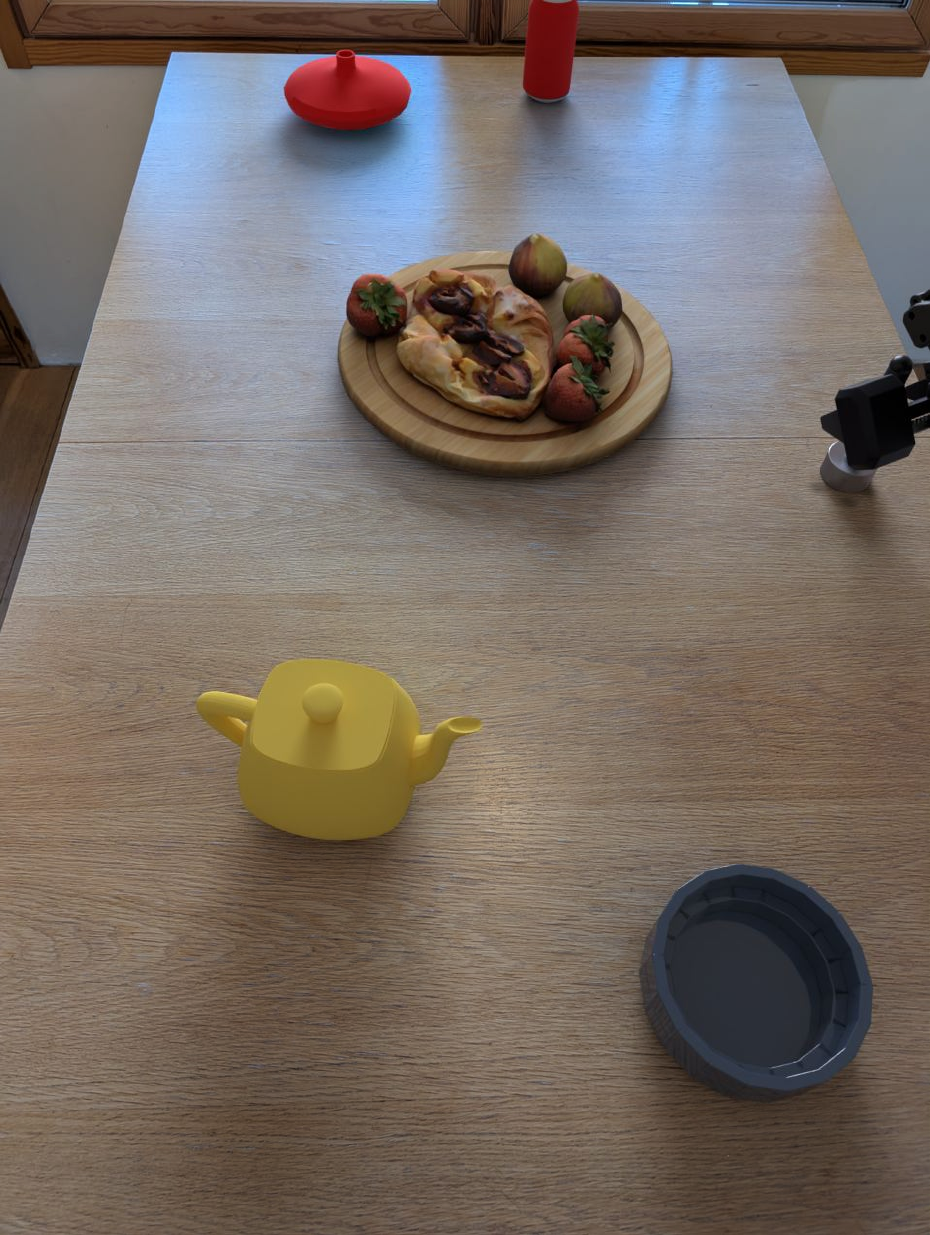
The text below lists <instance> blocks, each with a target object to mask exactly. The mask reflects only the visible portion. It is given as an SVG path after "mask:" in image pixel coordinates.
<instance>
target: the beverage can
mask: <svg viewBox="0 0 930 1235" xmlns="http://www.w3.org/2000/svg"><path fill="white" fill-rule="evenodd" d="M527 13H528V14H527V24H526V35H525V36H526V37H525V50H524V61H523V74H522V88H523V91H524V92H525V94H526V95H527V96H529V97H530V98H531V99H533V100H535V101H537V102H540V103H544V104H548V103H549V104H552V103H556V102H558V101H560V100H563V99H565V98H566V97H567V96H568V95H569V93H570V90H571V84H572V75H573V66H574V59H575V52H576V51H575V50H576V43H577V42H576V41H577V34H578V26H579V16H580V4H579V1H578V0H530V2H529V3H528V12H527Z"/></svg>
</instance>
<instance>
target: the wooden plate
mask: <svg viewBox="0 0 930 1235" xmlns="http://www.w3.org/2000/svg"><path fill="white" fill-rule="evenodd" d="M345 305H346V307H345V314H346V319H345V321H344V322H343V325H342V328H341V330H340V334H339V338H338V343H337V365H338V371H339V376H340V379H341V383H342V385H343V388H344V391H345V393H346V395H347V397H348V399H349V400H350V402H351V403H352V405H353V406H354V408H355V409H356V411H357V412H358V413H359V414H360V415H361V416H362V417H363V419H364V420H365V421H367V423H369V424H370V425H371V426H372V428H374V429H375V430H376V431H377V432H378V433H380V435H382V436H384V437H385V438H386V439H388V440H389V441H391V442H392V443H394V444H395V445H396V446H398V447H400V448H402V449H403V450H405V451H407V452H408V453H410V454H413V455H416V456H418V457H420V458H422V459H424V460H427V461H430V462H432V463H436V464H438V465H440V466H445V467H447V468H453V469H456V470H461V471H466V472H469V473H475V474H476V473H478V474H483V475H490V476H504V477H505V476H506V477H524V476H541V475H549V474H555V473H560V472H565V471H569V470H570V471H571V470H574V469H578V468H582V467H585V466H587V465H588V466H589V465H590V464H593V463H596V462H598V461H601V460H603V459H605V458H607V457H609V456H611V455H612V454H615V453H617V452H618V451H620V450H622V449H623V448H625V447H627V446H628V445H630V444H631V443H632V442H634V441H635V440H637V438H639V437H640V436H641V435H643V433H644V432H645V431H647V429H648V428H649V427H650V426H651V425H652V424H653V422H654V421H655V420H656V419H657V417H658V416H659V414H660V412H661V411H662V409H663V408H664V406H665V403H666V402H667V400H668V397H669V393H670V390H671V388H672V387H671V386H672V380H673V370H674V369H673V356H672V351H671V348H670V345H669V341H668V339H667V337H666V335H665V332H664V331H663V328H662V327H661V325H660V324H659V322H658V321H657V319H656V318H655V317H654V315H653V314H652V313H651V312H650V311H649V309H648V308H647V307H645V305H644V304H642V302H640V301H639V300H638V299H637V298H636V297H635V295H632V294H631V293H629V292H628V291H627V290H626V289H624V288H623V287H622V286H619V285H618V284H617V283H615V282H613V281H612V280H610V279H609V278H608V277H607V276H606V275H604V274H602V273H599V272H594V271H592V270H590V269H587V268H584V267H581V266H579V265H576V264H574V263H571V262H568V261H567V257H566V256H565V253H564V251H563V249H562V248H561V246H560V245H559V244H558V243H557V242H556V241H555V240H554V239H552V238H550V237H549V236H546V235H544V234H541V233H533V234H532V233H531V234H530V235H528V236H526V238H524V239H522V240H521V241H520V242H519V243H518V244H517V245H516V246H515V247H514V249H513V251H506V250H480V251H479V250H478V251H466V252H458V253H451V254H446V255H441V256H436V257H433V258H429V259H426V260H422V261H419V262H416V263H413V264H411V265H408V266H406V267H404V268H403V267H402V268H401V269H400V270H397V271H395V272H394V273H392V274H390V275H388V276H384V275H383V274H381V273H364V274H362V275H361V276H359V277H358V278H357V279H355V281H354V282H353V283H352V286H351V289H350V292H349V294H348V296H347V298H346V303H345Z"/></svg>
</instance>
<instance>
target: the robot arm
mask: <svg viewBox="0 0 930 1235" xmlns="http://www.w3.org/2000/svg"><path fill="white" fill-rule="evenodd" d="M909 304H910V305H909V306H908V309H907V310H906V311H904V313H903V315H902V323H903V326H904V328H905V330H906V332H907V334H908V336H909V338H910V341H911V342H912V344H913V346H914V347H916V348H918V349H925V348H928V350H929V351H930V288H928V289H927V290H926V291H923V292H919V293H916V294H913V295H911V297H910V299H909ZM922 366H923V371H924V376H925V377H924V378H922V379H920V380H918V381H916V382H915V381H914V382H913V383H910V384H908V385H906V384H905V385H904V384H903V383H902V382H901V381H900V380H899V379H897V378H896V377H895V376H894V375H893V374H891V375H885V376H883V375H879V376H877V377H873V378H868V379H865V380H862V381H858V382H857V383H854V384H851V385H848V386H845V387H842V388H840V389H838V391H837V392H836V395H835V397H834V403H835V408H836V409H835V410H832V411H830V412H828V413H825V414H824V415H823V414H822V415H821V416H820V417H819V418H820V419H819V420H820V421H819V422H820V425H821V429H822V430H823V431H824V432H825V433H827V434H828V435H830V436H832V437H833V438H834V439H836V440H837V441H840V442H842V443H843V444H844V447H845V452H846V457H847V462H848V466H849V467H851V468H852V469H854V470H855V471H859V470H874V469H877V468H878V469H880V468H882V467H885V466H887V465H891V464H892V463H895V462H898V461H900V460H903V459H906V458H908V457H909V456H910V455H911V453H912V451H913V449H915V448H914V447H915V446H916V444H917V443H916V438H915V435H916V434H919V433H921V432H924V431H927V430H930V360H928V361H925V362H922ZM909 400H910V402H909ZM878 469H877V470H878Z"/></svg>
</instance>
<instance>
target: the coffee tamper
mask: <svg viewBox="0 0 930 1235" xmlns="http://www.w3.org/2000/svg"><path fill="white" fill-rule="evenodd" d="M913 370H914V361H913V360H912V358H911V357H909V356H908V355H905V354H898V355H895V356H894V357H893V358H892V359H891V360H890V362H889V363H888V365H887V366H886V368H885V371H884V373H883V375H882V376H885V375H891V374H893V375H894V376H895V377H896V378H897V379H899V380H900V381H901V382H902V383H903V384H904V385H905V386H906V383H907V381H908V379H909V378H910V375H911V374H912V372H913ZM878 470H879V468H877V469H874V470H859V471H855V470H854V469H852V468H851V467H849V466H848V462H847V457H846V452H845V447H844V444H843V443H842V442H840V441H839V440H837V441H836V442H834V443H832V444H831V446H830V447H829V448H828V451H827V452H826V455H825V457H824V459H823V461H822V462H821V465H820V468H819V472H820V473H819V474H820V476H821V479H822V480H823V481H824V482H825V483H826V484H827V485H828V486H830V487H831V488H832V489H834V490H837V491H839V492H842V493H847V494H856V493H860V492H863V491H865V490H866V489H867V488H868V487H869V486H870V484H871V482H872V480H873V478H874V477H875V474H876V473H877V471H878Z"/></svg>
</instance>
